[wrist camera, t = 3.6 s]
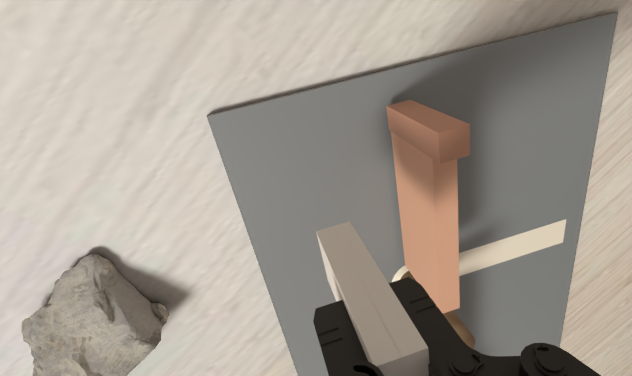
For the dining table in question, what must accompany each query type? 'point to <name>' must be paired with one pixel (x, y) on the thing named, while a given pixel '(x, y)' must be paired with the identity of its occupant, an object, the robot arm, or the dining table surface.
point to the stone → (93, 324)
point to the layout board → (472, 174)
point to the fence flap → (429, 195)
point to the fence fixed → (453, 322)
